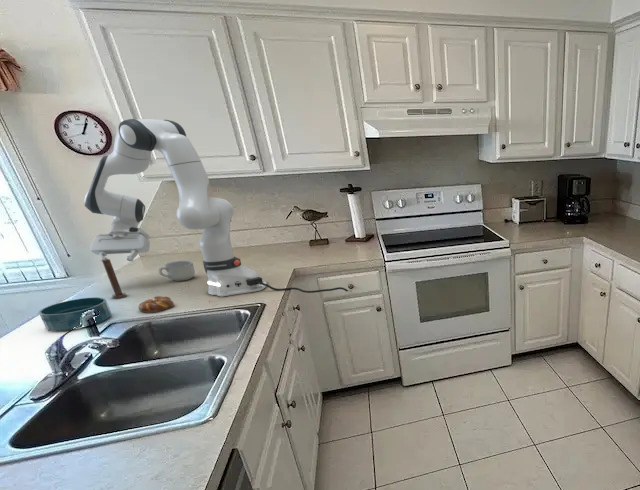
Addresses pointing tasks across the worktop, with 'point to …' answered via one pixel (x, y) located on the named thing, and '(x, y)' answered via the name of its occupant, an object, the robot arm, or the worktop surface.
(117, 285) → the stirring stick
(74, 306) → the bowl
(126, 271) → the worktop surface
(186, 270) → the teacup
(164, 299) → the pretzel
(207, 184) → the robot arm
